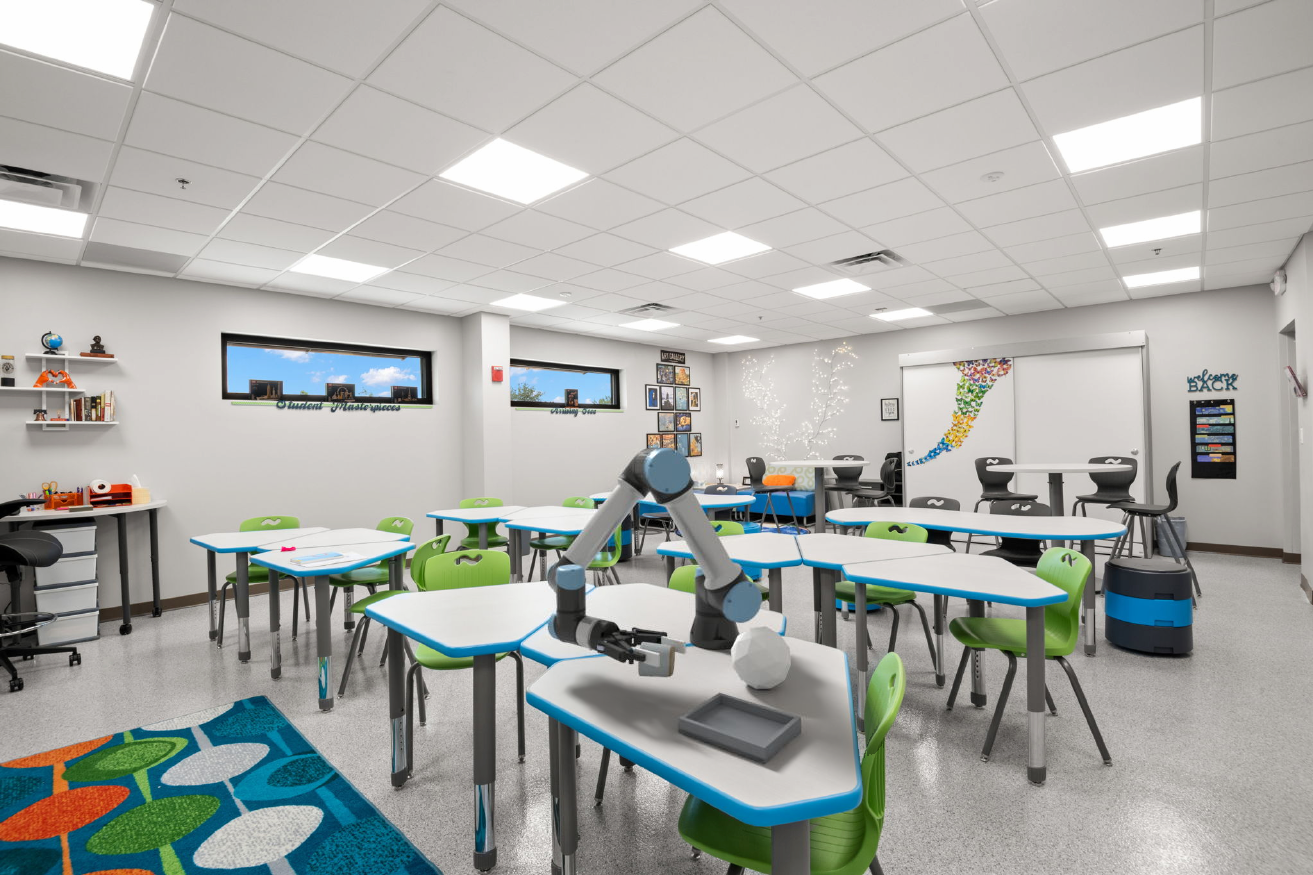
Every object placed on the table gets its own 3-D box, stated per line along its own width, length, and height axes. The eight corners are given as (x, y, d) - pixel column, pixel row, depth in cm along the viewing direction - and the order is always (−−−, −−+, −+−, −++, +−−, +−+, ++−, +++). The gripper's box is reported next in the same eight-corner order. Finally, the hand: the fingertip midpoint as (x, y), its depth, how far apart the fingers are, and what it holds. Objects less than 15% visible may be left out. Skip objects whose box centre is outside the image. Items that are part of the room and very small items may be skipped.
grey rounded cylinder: (672, 682, 134) (672, 648, 134) (637, 681, 135) (637, 647, 135) (676, 665, 144) (676, 634, 144) (644, 664, 145) (643, 633, 145)
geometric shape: (760, 713, 145) (741, 675, 138) (732, 670, 158) (713, 634, 151) (809, 681, 147) (792, 642, 140) (777, 641, 160) (760, 604, 153)
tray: (719, 705, 138) (719, 692, 138) (801, 731, 125) (801, 717, 125) (678, 732, 125) (678, 717, 125) (764, 764, 113) (764, 748, 113)
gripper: (628, 638, 157) (699, 656, 143) (566, 663, 140) (641, 686, 126) (627, 609, 157) (699, 624, 143) (566, 631, 140) (640, 651, 126)
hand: (672, 653), depth 135 cm, fingers closed on grey rounded cylinder, 9 cm apart
